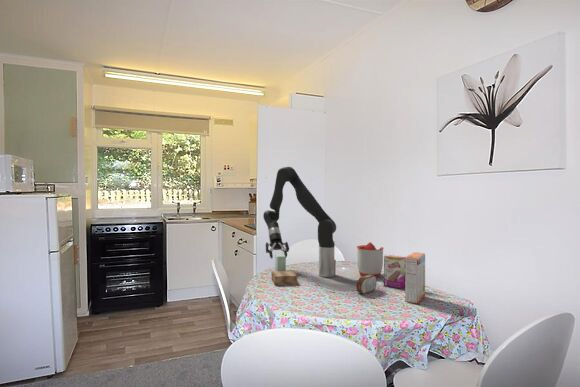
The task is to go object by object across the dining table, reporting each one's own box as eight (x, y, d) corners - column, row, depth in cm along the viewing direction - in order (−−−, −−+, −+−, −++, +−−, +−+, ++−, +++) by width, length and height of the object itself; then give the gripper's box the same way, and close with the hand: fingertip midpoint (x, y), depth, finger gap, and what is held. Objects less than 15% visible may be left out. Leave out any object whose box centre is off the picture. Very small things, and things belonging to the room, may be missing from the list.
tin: (372, 288, 174) (372, 272, 174) (377, 289, 172) (378, 273, 172) (355, 294, 164) (356, 277, 164) (361, 296, 161) (361, 278, 161)
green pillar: (283, 274, 200) (283, 254, 200) (285, 276, 196) (285, 256, 195) (275, 275, 199) (275, 255, 199) (277, 277, 194) (277, 256, 194)
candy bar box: (383, 286, 178) (383, 255, 178) (384, 284, 182) (385, 254, 182) (405, 289, 173) (405, 257, 173) (406, 286, 178) (406, 255, 177)
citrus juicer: (390, 276, 199) (391, 242, 199) (370, 280, 189) (371, 245, 189) (370, 270, 212) (371, 239, 212) (350, 274, 202) (351, 241, 202)
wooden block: (292, 278, 192) (292, 270, 192) (296, 284, 181) (296, 275, 181) (271, 279, 190) (271, 271, 190) (274, 285, 178) (274, 276, 178)
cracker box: (412, 294, 165) (413, 251, 165) (425, 296, 162) (426, 253, 162) (404, 301, 154) (404, 256, 154) (417, 304, 150) (418, 258, 150)
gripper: (264, 232, 208) (268, 254, 197) (286, 231, 211) (291, 253, 201) (263, 239, 213) (266, 261, 202) (284, 239, 217) (289, 260, 206)
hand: (278, 257), depth 201 cm, fingers open, 8 cm apart
